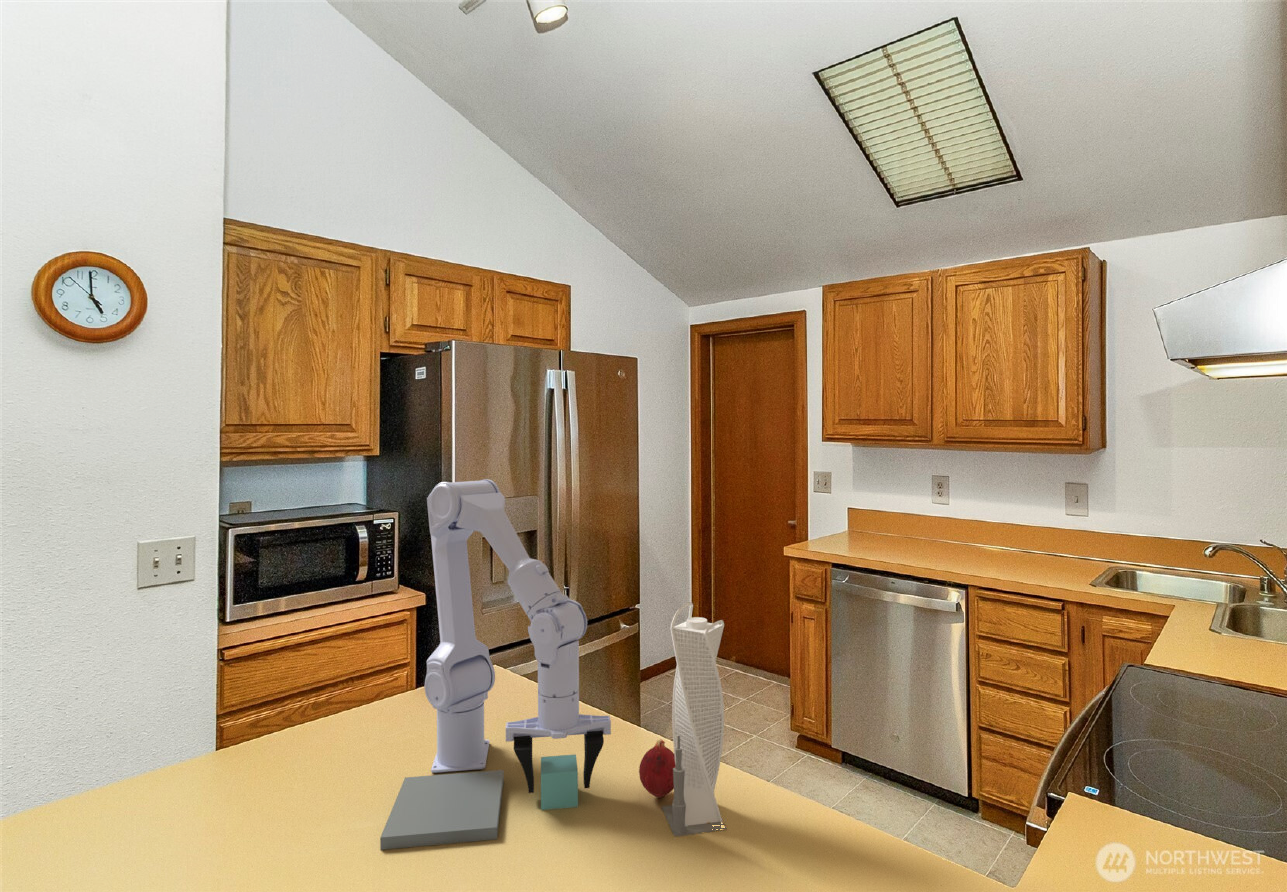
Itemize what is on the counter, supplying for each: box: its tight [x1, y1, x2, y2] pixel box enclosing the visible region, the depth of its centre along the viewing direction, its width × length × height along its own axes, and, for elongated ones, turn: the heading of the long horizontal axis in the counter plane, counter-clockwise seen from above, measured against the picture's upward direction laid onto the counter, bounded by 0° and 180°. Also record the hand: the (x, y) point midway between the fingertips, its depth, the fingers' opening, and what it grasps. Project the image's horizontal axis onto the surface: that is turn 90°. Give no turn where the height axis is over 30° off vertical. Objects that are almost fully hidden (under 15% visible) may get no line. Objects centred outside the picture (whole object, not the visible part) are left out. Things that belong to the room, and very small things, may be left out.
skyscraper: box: [661, 602, 728, 838], centre depth 90 cm, size 8×8×28 cm
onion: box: [638, 738, 676, 799], centre depth 94 cm, size 6×6×8 cm
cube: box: [540, 754, 579, 811], centre depth 94 cm, size 5×5×5 cm
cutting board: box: [379, 769, 505, 851], centre depth 91 cm, size 15×14×2 cm
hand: (559, 786), depth 94 cm, fingers open, 7 cm apart
